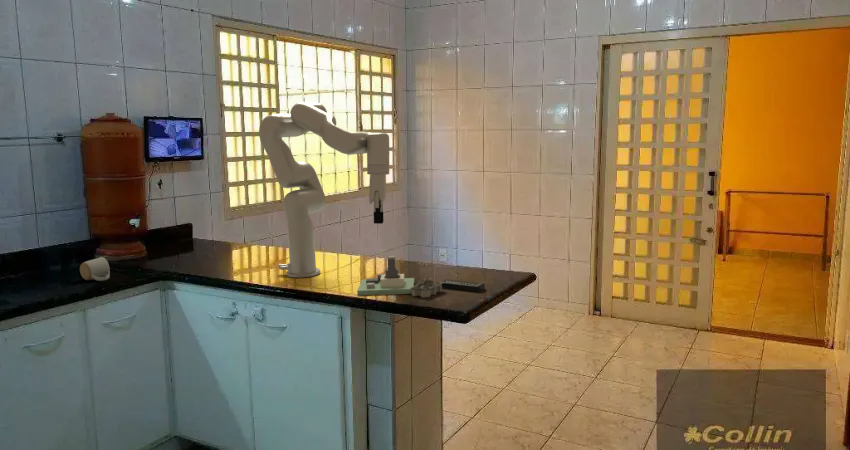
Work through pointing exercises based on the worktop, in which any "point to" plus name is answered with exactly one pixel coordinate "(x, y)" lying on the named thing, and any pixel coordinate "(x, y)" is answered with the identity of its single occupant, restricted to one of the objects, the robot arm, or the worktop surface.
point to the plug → (392, 268)
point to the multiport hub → (463, 285)
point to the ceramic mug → (95, 269)
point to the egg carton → (426, 288)
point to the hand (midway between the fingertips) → (378, 223)
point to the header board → (386, 285)
